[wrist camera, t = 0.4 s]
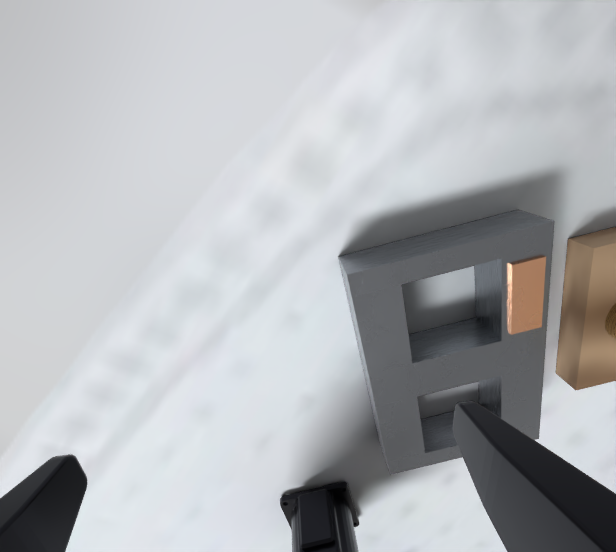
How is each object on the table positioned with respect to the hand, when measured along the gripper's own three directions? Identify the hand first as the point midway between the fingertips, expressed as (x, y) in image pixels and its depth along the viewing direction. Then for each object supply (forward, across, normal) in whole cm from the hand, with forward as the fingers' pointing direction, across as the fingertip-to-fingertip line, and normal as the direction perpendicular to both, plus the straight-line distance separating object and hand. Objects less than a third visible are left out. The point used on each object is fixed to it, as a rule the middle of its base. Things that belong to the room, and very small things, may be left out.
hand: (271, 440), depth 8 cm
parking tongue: (+14, -24, +7) cm, 29 cm away
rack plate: (+14, -11, +9) cm, 20 cm away
